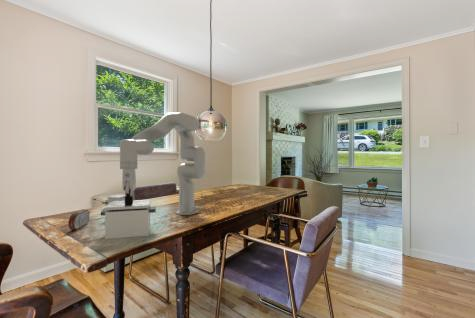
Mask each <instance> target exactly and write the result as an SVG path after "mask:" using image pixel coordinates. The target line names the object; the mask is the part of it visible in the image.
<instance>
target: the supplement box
mask: <svg viewBox="0 0 475 318" xmlns="http://www.w3.org/2000/svg"><path fill="white" fill-rule="evenodd" d="M112 201H125V194H124V195H121V194H116V195H111V196H108V197H107V205H108V204H109V203H111V202H112Z"/></svg>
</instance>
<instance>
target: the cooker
mask: <svg viewBox="0 0 475 318" xmlns="http://www.w3.org/2000/svg"><path fill="white" fill-rule="evenodd" d="M156 208H157V206H151V205H150V206H149V208H140V209H122V210H104V208H103V209H102V211H101V212H100V216H101V217H102V216H104V226H105V227H104V233H105V234H104V238H105V240H111V239H123V238H134V237H144V236H145V237H146V236H149V233H150V226H151V214H152V213H156V212H157V211H156V210H157V209H156Z"/></svg>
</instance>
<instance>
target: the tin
mask: <svg viewBox="0 0 475 318" xmlns="http://www.w3.org/2000/svg"><path fill="white" fill-rule="evenodd" d="M89 220H90V211H89V210H88V209H80V210H78V211H75V212H72V214H71V215H70V216H69V217H68V225H67V227H68V229H69V230H71V231H72V230H76V231H77V230H79V229H81V228H82V227H85V226H86V225H87V224H88V223H89Z"/></svg>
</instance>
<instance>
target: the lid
mask: <svg viewBox="0 0 475 318" xmlns="http://www.w3.org/2000/svg"><path fill="white" fill-rule="evenodd" d="M151 201H152V200H151V199H137V200H136V199H135V200H134V199H133V204H132V205H125V201H112V202H111V203H109V204H108V203H107V205H106V206H104V207H103V209H104V210H122V209H140V208H149V206H150V207H151Z"/></svg>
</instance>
